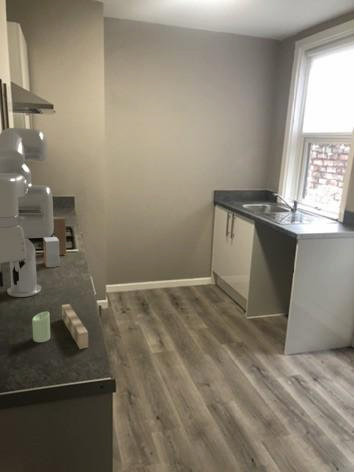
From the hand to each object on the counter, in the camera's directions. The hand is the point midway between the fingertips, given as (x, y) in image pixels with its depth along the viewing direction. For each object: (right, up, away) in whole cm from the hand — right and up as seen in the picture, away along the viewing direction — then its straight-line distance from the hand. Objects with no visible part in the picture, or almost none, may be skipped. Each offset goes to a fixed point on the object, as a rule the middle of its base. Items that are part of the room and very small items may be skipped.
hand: (8, 283), depth 109 cm
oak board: (+15, -17, +14) cm, 27 cm away
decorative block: (-16, +4, +93) cm, 95 cm away
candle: (+7, -18, +9) cm, 21 cm away
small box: (-13, 0, +77) cm, 78 cm away
